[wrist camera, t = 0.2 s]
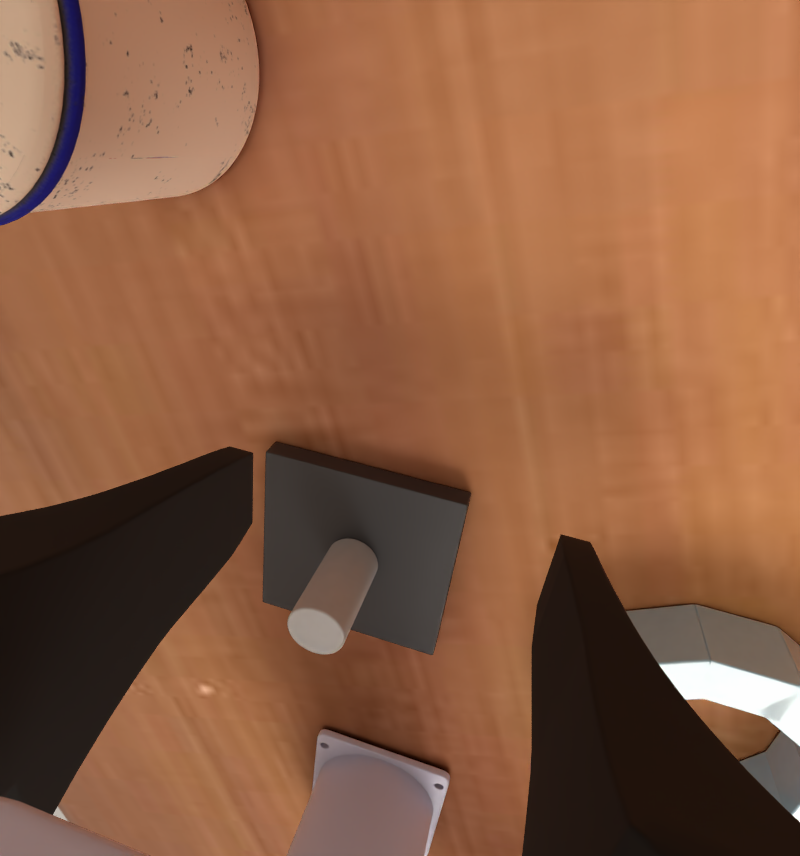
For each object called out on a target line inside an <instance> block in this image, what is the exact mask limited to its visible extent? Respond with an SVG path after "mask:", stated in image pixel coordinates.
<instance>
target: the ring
mask: <svg viewBox="0 0 800 856" xmlns="http://www.w3.org/2000/svg"><path fill="white" fill-rule="evenodd" d="M626 612H627V614H628V616H629V618H630V619H631V621H632V623H633V625H634V626H635V628H636V630H637V631H638V633H639V635H640V636H641V638H642V639H643V641H644V643H645V644H646V646H647V647H648V649H649V650H650V652H651V653H652V655H653V657H654V658H655V660H656V661H657V663H658V664H659V665H660V667H661V668H662V670H663V671H664V672H665V674H666V675H667V676H668V678H669V679H670V680H671V682H672V683H673V684H674V686H675V687H676V688H677V690H678V691H679V692H680V694H681V695H682V696H683V697H684V699H685V700H694V699H706V700H709V701H712V702H715V703H719V704H722V705H725V706H729V707H732V708H735V709H739V710H742V711H745V712H748V713H752V714H755V715H758V716H762V717H765V718H766V719H768V720H769V721H770V722H771V723H772V724H774V725H775V726H776V727H777V728H778V729H779V730H781V731H780V732H779V734H778V735H777V737H776V738H775V739H774V741H773V742H772V743H771V745H770V746H769V748H768V749H767V750H766V752H763V753H760V754H758V755H755V756H753V757H750V758H747V759H745V760H742V761H740V763H741V764H742V765H743V766H744V767H745V769H746V770H747V771H748V772H749V773H750V774H751V775H752V776H753V777H754V778H755V779H756V780H757V781H758V782H759V783H760V784H761V785H762V786H763V787H764V788H765V789H766V790H767V791H768V792H769V793H770V794H771V795H772V796H773V797H774V798H775V799H776V800H777V801H778V802H779V803H780V804H781V805H782V806H783V807H784V808H785V809H786V810H787V811H788V812H790V813H791V814H792V815H793V816H794V817H795V818H796V819H797V820H798V821H799V822H800V645H798V644H797V643H796V642H795V641H794V640H793V639H791V638H790V637H789V636H788V635H787V634H786V633H784V632H783V631H782V630H781V629H780V628H778V627H776V626H773V625H770V624H766V623H762V622H759V621H755V620H752V619H748V618H744V617H741V616H737V615H733V614H730V613H726V612H723V611H719V610H715V609H712V608H708V607H705V606H701V605H697V604H695V605H694V604H689V605H680V606H670V607H660V608H650V609H640V610H631V611H626Z"/></svg>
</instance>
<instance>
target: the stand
mask: <svg viewBox="0 0 800 856" xmlns="http://www.w3.org/2000/svg"><path fill="white" fill-rule="evenodd" d="M470 497H471V493H470V492H466V491H462V490H458V489H454V488H451V487H447V486H443V485H439V484H435V483H431V482H428V481H424V480H420V479H416V478H412V477H408V476H405V475H401V474H397V473H393V472H389V471H385V470H382V469H378V468H374V467H370V466H366V465H362V464H359V463H355V462H351V461H347V460H343V459H339V458H336V457H332V456H328V455H324V454H320V453H316V452H313V451H309V450H305V449H301V448H297V447H293V446H290V445H286V444H282V443H278V442H275V443H274V444H273V445H272V446H271V447H270V448H269V449H268V450H267V451H266V471H265V518H264V565H263V602H265V603H268V604H271V605H274V606H277V607H281V608H284V609H287V610H290V611H292V612H291V613H290V615H289V617H288V623H287V624H288V630H289V632H290V634H291V636H292V638H293V639H294V640H295V641H296V642H297V643H298V644H299V645H300V646H302V647H303V648H305V649H306V650H309V651H311V652H313V653H317V654H332V653H335V652H337V651H338V650H340V649H341V648H342V646H343V645H344V642H345V640H346V638H347V636H348V634H349V631H350V630H354V631H357V632H360V633H363V634H366V635H369V636H373V637H376V638H379V639H382V640H385V641H388V642H392V643H395V644H398V645H401V646H404V647H407V648H411V649H414V650H417V651H420V652H423V653H426V654H430V655H433V653H434V650H435V646H436V642H437V638H438V634H439V630H440V625H441V621H442V617H443V612H444V608H445V604H446V600H447V595H448V591H449V587H450V583H451V578H452V574H453V570H454V565H455V561H456V557H457V553H458V548H459V544H460V540H461V536H462V531H463V527H464V523H465V518H466V514H467V510H468V506H469V501H470Z"/></svg>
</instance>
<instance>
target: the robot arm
mask: <svg viewBox="0 0 800 856" xmlns="http://www.w3.org/2000/svg"><path fill="white" fill-rule="evenodd" d="M252 511H253V453H252V452H248V451H244V450H241V449H237V448H233V447H227V448H223V449H220V450H217V451H214V452H211V453H209V454H206V455H203V456H201V457H198V458H196V459H193V460H190V461H188V462H185V463H183V464H180V465H177V466H175V467H172V468H170V469H167V470H164V471H162V472H159V473H156V474H154V475H151V476H148V477H146V478H143V479H140V480H137V481H134V482H131V483H128V484H125V485H122V486H119V487H116V488H113V489H110V490H107V491H104V492H101V493H98V494H95V495H91V496H88V497H84V498H81V499H77V500H73V501H69V502H65V503H61V504H57V505H53V506H49V507H45V508H40V509H35V510H30V511H25V512H20V513H15V514H10V515H4V516H0V856H150V855H147V854H145V853H143V852H140V851H138V850H135V849H133V848H130V847H128V846H126V845H123V844H121V843H118V842H116V841H114V840H111V839H109V838H106V837H104V836H102V835H99V834H97V833H94V832H92V831H90V830H87V829H85V828H82V827H80V826H78V825H75V824H73V823H70V822H68V821H65V820H63V819H61V818H58V817H56V816H53V813H54V812H55V810H56V808H57V806H58V805H59V803H60V801H61V799H62V797H63V796H64V794H65V792H66V790H67V789H68V787H69V785H70V783H71V781H72V780H73V778H74V776H75V774H76V773H77V771H78V769H79V768H80V766H81V764H82V763H83V761H84V759H85V758H86V756H87V754H88V753H89V751H90V749H91V748H92V746H93V744H94V743H95V741H96V739H97V738H98V736H99V734H100V733H101V731H102V730H103V728H104V726H105V725H106V723H107V721H108V720H109V718H110V717H111V715H112V714H113V712H114V710H115V709H116V707H117V706H118V704H119V703H120V701H121V700H122V698H123V696H124V695H125V693H126V692H127V690H128V689H129V687H130V686H131V684H132V683H133V681H134V680H135V678H136V677H137V675H138V674H139V672H140V671H141V669H142V668H143V666H144V665H145V663H146V662H147V660H148V659H149V658H150V656H151V655H152V653H153V652H154V650H155V649H156V647H157V646H158V644H159V643H160V642H161V641H162V639H163V638H164V637H165V635H166V634H167V633H168V631H169V630H170V629H171V628H172V626H173V625H174V624H175V623H176V622H177V621H178V619H179V618H180V617H181V616H182V615H183V613H184V612H185V611H186V610H187V609H188V608H189V606H190V605H191V604H192V603H193V602H194V600H195V599H196V598H197V597H198V596H199V595H200V593H201V592H202V591H203V590H204V589H205V587H206V586H207V585H208V584H209V583H210V581H211V580H212V579H213V578H214V577H215V575H216V574H217V573H218V572H219V571H220V569H221V568H222V567H223V566H224V565H225V563H226V562H227V561H228V560H229V558H230V557H231V556H232V554H233V553H234V551H235V550H236V548H237V547H238V545H239V544H240V542H241V540H242V539H243V537H244V535H245V534H246V532H247V530H248V529H249V527H250V525H251V524H252ZM449 781H450V775H449V774H448V773H447V772H446V771H444V770H442V769H439V768H436V767H433V766H430V765H427V764H424V763H422V762H419V761H416V760H413V759H410V758H407V757H404V756H402V755H399V754H396V753H393V752H390V751H387V750H384V749H382V748H379V747H376V746H373V745H370V744H367V743H365V742H362V741H359V740H356V739H353V738H350V737H347V736H345V735H342V734H339V733H336V732H333V731H330V730H327V729H322V730H320V732H319V735H318V737H317V747H316V757H315V766H314V776H313V786H312V793H311V796H310V798H309V801H308V803H307V806H306V809H305V811H304V814H303V816H302V819H301V821H300V824H299V826H298V829H297V831H296V834H295V836H294V839H293V841H292V844H291V846H290V849H289V851H288V854H287V856H427V855H428V852H429V849H430V845H431V842H432V839H433V835H434V832H435V829H436V825H437V822H438V819H439V815H440V812H441V809H442V805H443V802H444V799H445V796H446V792H447V789H448V786H449ZM522 856H800V822H799V821H798V820H797V819H796V818H795V817H794V816H793V815H792V814H791V813H790V812H788V811H787V810H786V809H785V808H784V807H783V806H782V805H781V804H780V803H779V802H778V801H777V800H776V799H775V798H774V797H773V796H772V795H771V794H770V793H769V792H768V791H767V790H766V789H765V788H764V787H763V786H762V785H761V784H760V783H759V782H758V781H757V780H756V779H755V778H754V777H753V776H752V775H751V774H750V773H749V772H748V771H747V770H746V769H745V767H744V766H743V765H742V764H741V763H740V762H739V761H738V760H737V759H736V758H735V757H734V756H733V755H732V754H731V753H730V752H729V750H728V749H727V748H726V747H725V746H724V745H723V744H722V742H721V741H720V740H719V739H718V738H717V737H716V736H715V735H714V733H713V732H712V731H711V730H710V729H709V728H708V727H707V725H706V724H705V723H704V722H703V721H702V720H701V718H700V717H699V716H698V715H697V714H696V712H695V711H694V710H693V709H692V708H691V706H690V705H689V704H688V703H687V701H686V700H685V699H684V697H683V696H682V695H681V694H680V692H679V691H678V690H677V688H676V687H675V686H674V684H673V683H672V682H671V680H670V679H669V678H668V676H667V675H666V674H665V672H664V671H663V670H662V668H661V667H660V665H659V664H658V663H657V661H656V660H655V658H654V657H653V655H652V653H651V652H650V650H649V649H648V647H647V646H646V644H645V643H644V641H643V639H642V638H641V636H640V635H639V633H638V631H637V630H636V628H635V626H634V625H633V623H632V621H631V619H630V618H629V616H628V614H627V612H626V611H625V609H624V607H623V605H622V603H621V602H620V600H619V598H618V596H617V594H616V592H615V591H614V589H613V587H612V585H611V583H610V581H609V579H608V577H607V575H606V573H605V571H604V569H603V567H602V565H601V563H600V560H599V558H598V556H597V554H596V552H595V550H594V548H593V546H592V545H591V543H590V542H588V541H584V540H580V539H576V538H573V537H569V536H565V535H561V536H560V539H559V542H558V545H557V547H556V550H555V553H554V556H553V559H552V562H551V565H550V568H549V571H548V574H547V577H546V580H545V583H544V586H543V589H542V592H541V595H540V598H539V601H538V604H537V610H536V617H535V625H534V633H533V642H532V754H531V774H530V784H529V795H528V805H527V815H526V825H525V834H524V843H523V853H522Z"/></svg>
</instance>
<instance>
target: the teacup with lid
mask: <svg viewBox="0 0 800 856" xmlns="http://www.w3.org/2000/svg"><path fill="white" fill-rule="evenodd" d="M258 92H259V59H258V49H257V43H256V36H255V32H254V28H253V23H252V19H251V16H250V13H249V10H248V7H247V4H246V1H245V0H0V225H4V224H7V223H10V222H12V221H15V220H18V219H19V218H21V217H23V216H25V215H26V214H28V213H31V212H40V211H49V210H59V209H68V208H77V207H86V206H96V205H105V204H114V203H123V202H132V201H142V200H151V199H160V198H169V197H179V196H183V195H188V194H191V193H194V192H196V191H199V190H201V189H203V188H205V187H207V186H209V185H210V184H212V183H213V182H215V181H216V180H217V179H218V178H219V177H221V176H222V175H223V174H224V173H225V172H226V171H227V170H228V169H229V167H230V166H231V165H232V164H233V162H234V161H235V160H236V158H237V157H238V155H239V153H240V152H241V150H242V148H243V146H244V144H245V142H246V140H247V138H248V135H249V133H250V130H251V127H252V124H253V120H254V116H255V112H256V107H257V101H258Z"/></svg>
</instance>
